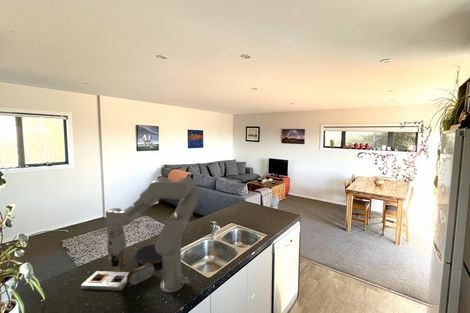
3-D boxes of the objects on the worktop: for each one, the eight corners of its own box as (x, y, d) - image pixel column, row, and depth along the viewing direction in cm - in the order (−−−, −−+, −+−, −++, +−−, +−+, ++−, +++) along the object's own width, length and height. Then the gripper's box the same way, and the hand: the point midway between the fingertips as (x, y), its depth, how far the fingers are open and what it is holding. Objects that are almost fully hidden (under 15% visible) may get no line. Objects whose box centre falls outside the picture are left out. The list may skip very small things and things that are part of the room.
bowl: (160, 246, 160) (160, 240, 160) (176, 260, 145) (176, 253, 144) (128, 258, 145) (128, 251, 144) (142, 276, 130) (142, 268, 129)
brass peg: (123, 266, 123) (122, 251, 122) (119, 271, 119) (118, 255, 118) (116, 266, 124) (115, 251, 123) (112, 271, 120) (111, 255, 119)
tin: (153, 273, 130) (153, 260, 129) (156, 276, 128) (155, 262, 127) (126, 286, 120) (125, 271, 119) (128, 289, 117) (128, 274, 116)
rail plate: (133, 275, 128) (133, 271, 128) (121, 290, 116) (121, 286, 116) (96, 274, 129) (96, 270, 129) (81, 288, 117) (81, 284, 117)
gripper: (112, 239, 111) (115, 273, 113) (130, 225, 127) (132, 255, 129) (98, 239, 111) (101, 273, 113) (117, 225, 128) (119, 255, 130)
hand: (117, 263), depth 121 cm, fingers closed on brass peg, 4 cm apart
